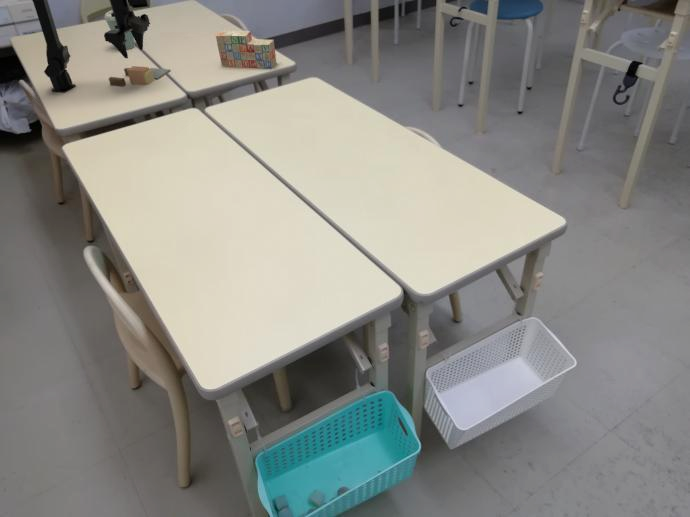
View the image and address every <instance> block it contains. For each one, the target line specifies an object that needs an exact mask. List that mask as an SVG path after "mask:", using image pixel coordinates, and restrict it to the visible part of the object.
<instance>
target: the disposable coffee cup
mask: <svg viewBox="0 0 690 517" xmlns="http://www.w3.org/2000/svg"><path fill="white" fill-rule="evenodd" d="M111 13H113V11H112V9H111V10H109V11H107V12H105V14H104V20H105V21H106V23H107V25H108V27H109V31H110V30H119V29H115V25H117V24H116V20H115V17H112V16H111ZM124 31H125V30H124ZM125 40H127V41H126V43H125V46H126V50H129V49H132V48H135V46H136V45H135V44H136V41H135V39H134V37H133V35H132V33H131V31H130V32H128V33H126V34H125Z"/></svg>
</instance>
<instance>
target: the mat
mask: <svg viewBox="0 0 690 517" xmlns="http://www.w3.org/2000/svg"><path fill="white" fill-rule="evenodd" d="M149 70H152V73H153V76H154V80H157V81H158V80H160V79H161V78H163V77H164V76H166V75H167V74H168V73H170V72H172V71H171V69H169V68H167V69H166V68H156V67H149Z"/></svg>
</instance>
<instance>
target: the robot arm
mask: <svg viewBox="0 0 690 517" xmlns="http://www.w3.org/2000/svg"><path fill="white" fill-rule="evenodd" d="M108 1H109V4H110V8H111V10H112V11H113V13H111V16H112V17H115V20H116V24H117V25H115V29H119V30H110V29H109V30H108V31H106V32H104V34H103V37H104V40H105V42H108V43H109V44H111V45H113V47H114V48H115V49H116V50H117V51H118V52H119V53H120V54H121V55H122V56H123V58H124V59H129V55H128V51H127V50H128V49H126V46H125V43H126V41H127V40H125V34H126V33H128V32H130V31H131V33H132V35H133V37H134V42H135V44H136V45H137V47H138V48H139V50H140V51H142V50H143V49H144V34H145V33H146V31H148V29H149V27H150V25H151V23H150V22H151V21H150V19H149V15H147V14H145V13H143V14H141V15H138V16H137V15H136V14H135V12H134V11H133V10H131V9H130V7H132V8H133V9H138V8H139V9H140V8H149V7H151V0H108ZM31 2H32V3H33V6H34V8H35V12H36V15H37V18H38V21H39V22H38V23H39V25H40V28H41V31H42V35H43V38H44V40H45V44H46V47H45V48H46V52H45V54H46V62H47V66H46V68H45V69H44V71H43V73H44V74H45V75H46V77H48V78H49V81H50V83H51V85H52V88H51V89H50V91H52V92H60V93H66V92H68V91H69V90H71V89H73V88H74V87H76V84H75V83H74V84H73V81H72V79H71V75H70V73H69V72H68V70H67V67H68V64H69V62H70V58H71V54H70V52H69V47H68V45H63V44H62V42H61V41H60V38H59V34H58V30H57V27H56V24H55V21H54V19H53V14H52V12H51V8H50V4H49V1H48V0H31ZM124 30H125V31H124Z"/></svg>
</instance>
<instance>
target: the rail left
mask: <svg viewBox="0 0 690 517" xmlns="http://www.w3.org/2000/svg"><path fill="white" fill-rule="evenodd" d="M125 79H126V78H124V77H116V76H114V77H113V76H110V77H109V78H108V81H109V84H110V86H119V87H125V86H126V85H127V83H126V80H125Z"/></svg>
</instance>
